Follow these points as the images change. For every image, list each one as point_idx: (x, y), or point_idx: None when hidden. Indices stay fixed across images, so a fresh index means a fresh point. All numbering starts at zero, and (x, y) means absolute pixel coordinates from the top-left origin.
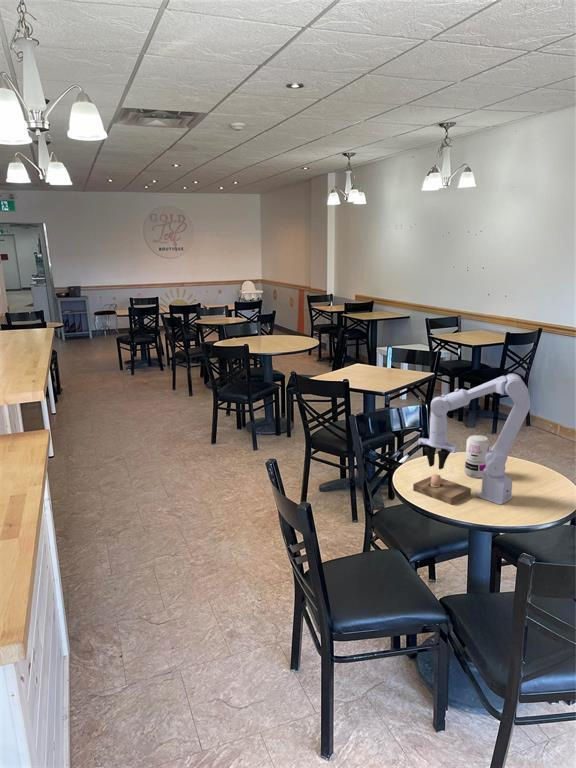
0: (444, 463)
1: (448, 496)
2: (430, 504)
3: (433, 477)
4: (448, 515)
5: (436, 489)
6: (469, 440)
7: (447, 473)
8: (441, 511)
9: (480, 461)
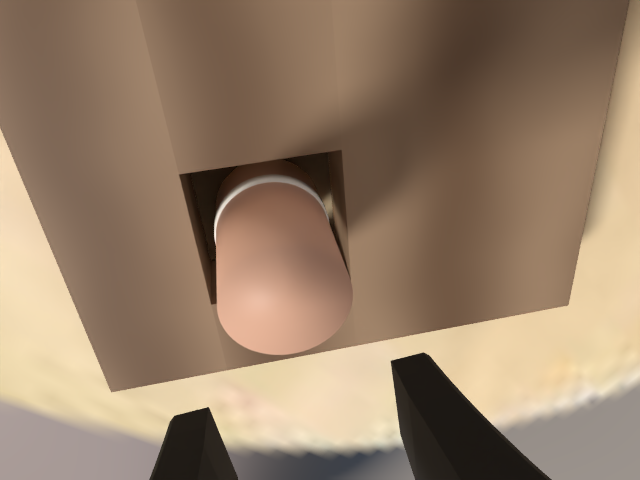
0: (483, 423)
1: (535, 307)
2: None
3: (295, 349)
4: (593, 379)
5: (362, 297)
6: None
7: None
8: (531, 381)
9: None
